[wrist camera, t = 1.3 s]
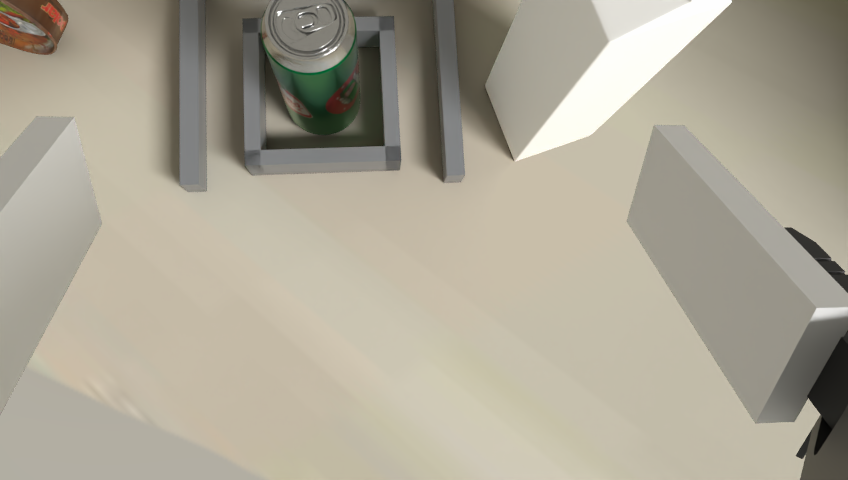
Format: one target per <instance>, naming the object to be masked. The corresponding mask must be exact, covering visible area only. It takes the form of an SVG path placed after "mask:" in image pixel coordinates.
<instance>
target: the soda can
mask: <svg viewBox="0 0 848 480" xmlns="http://www.w3.org/2000/svg"><path fill="white" fill-rule="evenodd" d="M260 32H261V39H262V43H263V46H264V48H265V51H266V54H267V56H268V59H269V62H270V64H271V67H272V70H273V72H274V75H275V78H276V80H277V83H278V86H279V88H280V91H281V94H282V96H283V99H284V102H285V104H286V107H287V110H288V112H289V114H290V116H291V118H292V119H293V121H294V122H295V123H296V124H297V125H298V126H299V127H301V128H302V129H303V130H305V131H307V132H310V133H313V134H317V135H330V134H334V133H337V132H340V131H342V130H343V129H345V128H346V127H348V126H349V125H350V124H351V123H352V122H353V120H354V119H355V117H356V116H357V114H358V111H359V108H360V80H359V62H358V45H357V28H356V21H355V18H354V15H353V13H352V11H351V9H350V7H349V6H348V5H347V3H346V2H345V1H344V0H270V2H269V4H268V6H267V8H266V10H265V12H264V15H263V17H262V21H261V31H260Z"/></svg>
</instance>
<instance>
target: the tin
mask: <svg viewBox="0 0 848 480" xmlns="http://www.w3.org/2000/svg"><path fill="white" fill-rule="evenodd" d="M67 22H68V15H67V13H66V12H65V10H64V9H63V7H62V6H61V4H60V3H59V2H58V1H57V0H0V43H2V44H5V45H8V46H11V47H14V48H17V49H20V50H23V51H27V52H31V53H36V54H44V55H48V54H52V53H54V52H55V51H56V49H57V44H58V42H59V40H60V38H61V36H62V34H63V32H64V30H65V28H66V25H67Z"/></svg>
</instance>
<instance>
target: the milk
mask: <svg viewBox="0 0 848 480" xmlns="http://www.w3.org/2000/svg"><path fill="white" fill-rule="evenodd" d="M731 3H732V0H522V1H521V4H520V6H519V8H518V10H517V13H516V15H515V17H514V20H513V22H512V24H511V26H510V29H509V31H508V33H507V36H506V38H505V40H504V42H503V45H502V47H501V49H500V52H499V54H498V56H497V58H496V61H495V63H494V65H493V68H492V70H491V72H490V74H489V77H488V79H487V81H486V84H485V88H486V90H487V93H488V95H489V98H490V100H491V103H492V106H493V108H494V111H495V113H496V116H497V118H498V121H499V123H500V126H501V128H502V131H503V134H504V136H505V139H506V141H507V144H508V146H509V149H510V151H511V154H512V156H513V159H514V161H518V160H521V159H524V158H527V157H530V156H532V155H535V154H538V153H541V152H544V151H547V150H550V149H553V148H556V147H558V146H561V145H564V144H567V143H570V142H573V141H576V140H579V139H582V138H585V137H587V136H590V135H591V134H593V133H594V132H595V131H596V130H597V129H598V128H599V127H600V126H601V125H602V124H603V123H604V122H605V121H606V120H607V119H608V118H610V117H611V116H612V115H613V114H614V113H615V112H616V111H617V110H618V109H619V108H620V107H621V106H622V105H623V104H624V103H625V102H627V101H628V100H629V99H630V98H631V97H632V96H633V95H634V94H635V93H636V92H637V91H638V90H639V89H640V88H641V87H642V86H644V85H645V84H646V83H647V82H648V81H649V80H650V79H651V78H652V77H653V76H654V75H655V74H656V73H657V72H658V71H660V70H661V69H662V68H663V67H664V66H665V65H666V64H667V63H668V62H669V61H670V60H671V59H672V58H673V57H674V56H675V55H677V54H678V53H679V52H680V51H681V50H682V49H683V48H684V47H685V46H686V45H687V44H688V43H689V42H690V41H691V40H692V39H694V38H695V37H696V36H697V35H698V34H699V33H700V32H701V31H702V30H703V29H704V28H705V27H706V26H707V25H708V24H709V23H711V22H712V21H713V20H714V19H715V18H716V17H717V16H718V15H719V14H720V13H721V12H722V11H723V10H724V9H725V8H727V7H728V6H729V5H730V4H731Z"/></svg>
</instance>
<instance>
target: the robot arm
mask: <svg viewBox="0 0 848 480" xmlns="http://www.w3.org/2000/svg"><path fill="white" fill-rule="evenodd" d="M627 223H628V224H629V226H630V227H631V229H632V231H633V232H634V234H635V235H636V237H637V238H638V240H639V241H640V243H641V245H642V246H643V248H644V249H645V251H646V252H647V254H648V256H649V257H650V259H651V260H652V262H653V263H654V265H655V267H656V268H657V270H658V271H659V273H660V274H661V276H662V278H663V279H664V281H665V282H666V284H667V285H668V287H669V289H670V290H671V292H672V293H673V295H674V296H675V298H676V300H677V301H678V303H679V304H680V306H681V307H682V309H683V311H684V312H685V314H686V315H687V317H688V318H689V320H690V322H691V323H692V325H693V326H694V328H695V329H696V331H697V333H698V334H699V336H700V337H701V339H702V340H703V342H704V344H705V345H706V347H707V348H708V350H709V351H710V353H711V355H712V356H713V358H714V359H715V361H716V362H717V364H718V366H719V367H720V369H721V370H722V372H723V373H724V375H725V377H726V378H727V380H728V381H729V383H730V384H731V386H732V388H733V389H734V391H735V392H736V394H737V395H738V397H739V399H740V400H741V402H742V403H743V405H744V406H745V408H746V410H747V411H748V413H749V414H750V416H751V417H752V419H753V421H754V422H755V423H776V422H795V420H796V418H797V416H798V415H799V413H800V411H801V410H802V408H803V406H804V404H805V403H806V401H807V399H808V398H809V400H810V401H811V402H812V404H813V405H814V406H815V408H816V409H817V410H818V412H819V413H820V414H821V415H820V417H819V419H818V420H817V422H816V424H815V425H814V427H813V428H812V430H811V432H810V433H809V435H808V437H807V438H806V440H805V442H804V443H803V445H802V446H801V448H800V450H799V451H798V453H797V455H796V456H797V457H799V458H801V459H803V457H804V456H805V455H806V457H805V461H804V466H803V470H802V474H801V478H800V480H848V275H845V274H844V272H845V271H844V270H843V269H842V268H841V267H840V266H839V265H838V264H837V263H836V262H835V261H831V257H830V256H829V255H828V254H827V253H826V252H825V251H824V250H823V249H822V248H821V247H820V246H819V245H818V244H817V243H816V242H814V241H813V240H811V239H809V238H808V237H806V236H804V235H803V234H801V233H799V232H798V231H796V230H794V229H793V228H784V227H783V226H782V225H781V224H780V223H779V222H778V221H777V220H776V219H775V218H774V217H773V216H772V215H771V214H770V213H769V212H768V211H767V210H766V209H765V208H764V207H763V206H762V205H761V204H760V203H759V202H758V201H757V200H756V198H755V197H754V196H753V195H752V194H751V193H750V192H749V191H748V190H747V189H746V188H745V187H744V186H743V185H742V184H741V183H740V182H739V181H738V180H737V179H736V178H735V177H734V176H733V175H732V174H731V173H730V172H729V171H728V170H727V169H726V168H725V167H724V166H723V165H722V164H721V163H720V162H719V161H718V159H717V158H716V157H715V156H714V155H713V154H712V153H711V152H710V151H709V150H708V149H707V148H706V147H705V146H704V145H703V144H702V143H701V142H700V141H699V140H698V139H697V138H696V137H695V136H694V135H693V134H692V133H691V132H690V131H689V130H688V129H687V128H686V127H685V126H684V125H654V127H653V131H652V134H651V138H650V141H649V145H648V148H647V152H646V155H645V159H644V162H643V166H642V169H641V173H640V176H639V180H638V183H637V187H636V190H635V194H634V197H633V201H632V204H631V208H630V211H629V215H628V218H627ZM101 225H102V221H101V217H100V213H99V210H98V206H97V202H96V198H95V194H94V190H93V187H92V183H91V179H90V175H89V171H88V167H87V164H86V160H85V156H84V152H83V148H82V144H81V141H80V137H79V133H78V129H77V125H76V121H75V118H74V117H39V116H37V117H36V118H35V119H34V120H33V121H32V122H31V123H30V124H29V126H28V127H27V128H26V129H25V130H24V131H23V132H22V133H21V135H20V136H19V137H18V138H17V139H16V140H15V141H14V142H13V144H12V145H11V146H10V147H9V148H8V149H7V150H6V151H5V153H4V154H3V155H2V156H1V157H0V415H1V413H2V411H3V409H4V407H5V405H6V403H7V401H8V400H9V398H10V396H11V394H12V392H13V390H14V388H15V387H16V385H17V383H18V381H19V379H20V377H21V375H22V373H23V372H24V370H25V368H26V366H27V364H28V362H29V360H30V358H31V356H32V355H33V353H34V351H35V349H36V347H37V345H38V343H39V341H40V340H41V338H42V336H43V334H44V332H45V330H46V328H47V326H48V324H49V323H50V321H51V319H52V317H53V315H54V313H55V311H56V309H57V308H58V306H59V304H60V302H61V300H62V298H63V296H64V294H65V292H66V291H67V289H68V287H69V285H70V283H71V281H72V279H73V277H74V276H75V274H76V272H77V270H78V268H79V266H80V264H81V262H82V260H83V259H84V257H85V255H86V253H87V251H88V249H89V247H90V245H91V244H92V242H93V240H94V238H95V236H96V234H97V232H98V230H99V228H100V227H101Z"/></svg>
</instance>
